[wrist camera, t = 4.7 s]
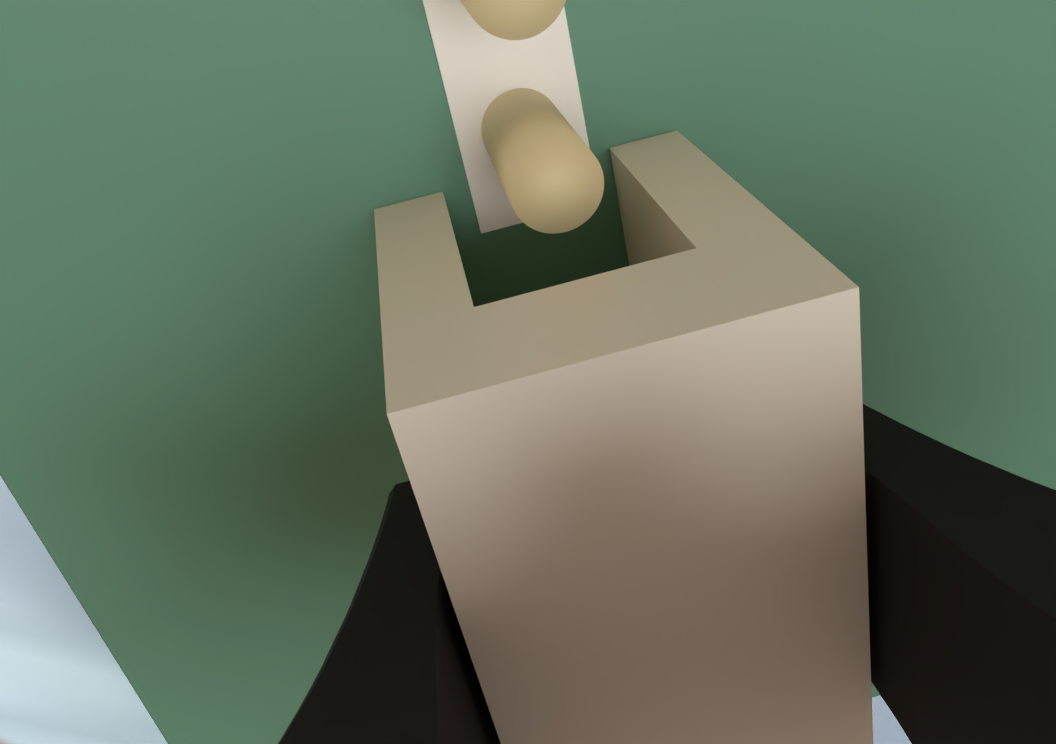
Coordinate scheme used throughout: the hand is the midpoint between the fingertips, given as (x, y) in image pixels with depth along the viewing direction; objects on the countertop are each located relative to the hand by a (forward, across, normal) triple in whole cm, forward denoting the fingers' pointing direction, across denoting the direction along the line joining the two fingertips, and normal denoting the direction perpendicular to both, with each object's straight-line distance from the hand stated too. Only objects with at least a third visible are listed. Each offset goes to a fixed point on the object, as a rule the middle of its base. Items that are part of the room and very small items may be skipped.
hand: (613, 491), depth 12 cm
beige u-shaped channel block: (+2, 0, 0) cm, 2 cm away
